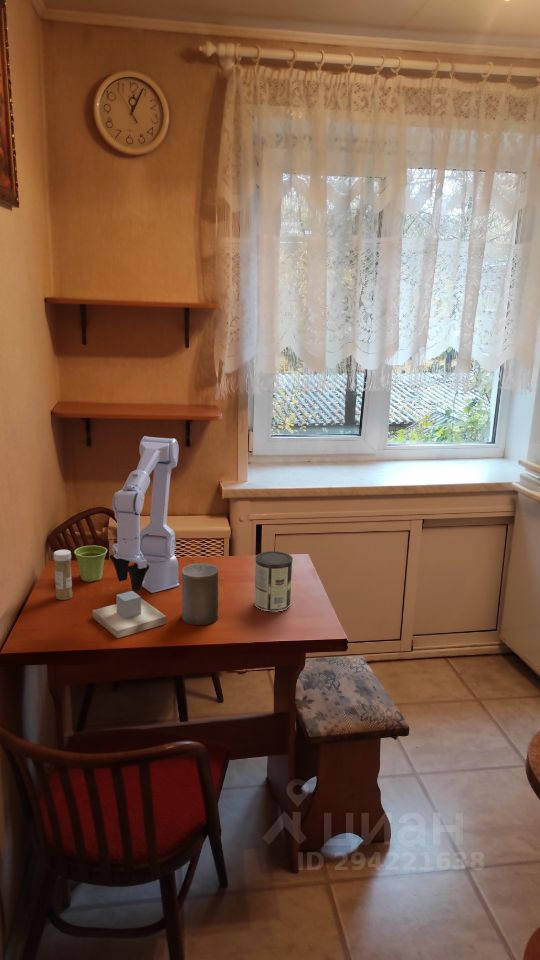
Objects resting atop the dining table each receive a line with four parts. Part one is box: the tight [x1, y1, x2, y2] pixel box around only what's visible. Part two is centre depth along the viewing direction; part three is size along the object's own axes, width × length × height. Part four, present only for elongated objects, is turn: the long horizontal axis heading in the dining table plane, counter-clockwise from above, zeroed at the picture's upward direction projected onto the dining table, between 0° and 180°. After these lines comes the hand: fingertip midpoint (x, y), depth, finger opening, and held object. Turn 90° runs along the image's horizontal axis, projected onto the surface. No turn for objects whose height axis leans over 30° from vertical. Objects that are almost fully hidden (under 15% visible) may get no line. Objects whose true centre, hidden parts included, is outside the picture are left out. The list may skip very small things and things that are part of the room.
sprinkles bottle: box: [53, 549, 74, 601], centre depth 189 cm, size 5×5×13 cm
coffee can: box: [253, 550, 294, 613], centre depth 189 cm, size 10×10×14 cm
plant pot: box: [73, 545, 108, 583], centre depth 203 cm, size 9×9×9 cm
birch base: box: [92, 598, 167, 639], centre depth 178 cm, size 14×14×2 cm
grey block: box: [116, 590, 142, 619], centre depth 177 cm, size 5×5×5 cm
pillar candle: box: [181, 562, 219, 626], centre depth 180 cm, size 10×10×15 cm
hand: (129, 585), depth 178 cm, fingers open, 7 cm apart
